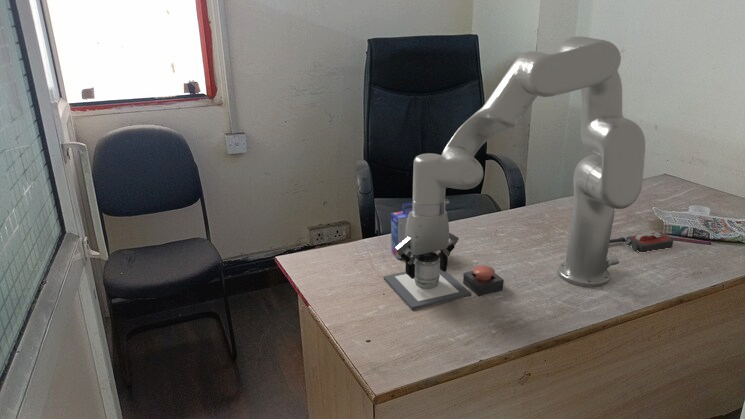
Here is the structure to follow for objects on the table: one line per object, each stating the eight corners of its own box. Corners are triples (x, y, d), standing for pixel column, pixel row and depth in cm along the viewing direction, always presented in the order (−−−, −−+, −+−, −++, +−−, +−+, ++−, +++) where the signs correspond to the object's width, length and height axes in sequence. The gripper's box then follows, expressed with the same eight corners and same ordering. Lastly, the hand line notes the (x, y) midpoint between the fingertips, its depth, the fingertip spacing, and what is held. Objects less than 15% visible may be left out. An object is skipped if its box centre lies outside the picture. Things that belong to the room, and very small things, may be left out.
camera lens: (409, 280, 135) (409, 252, 132) (431, 275, 137) (432, 247, 134) (421, 291, 129) (422, 262, 127) (444, 286, 132) (445, 257, 129)
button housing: (486, 277, 138) (487, 267, 137) (502, 290, 132) (503, 279, 131) (463, 283, 135) (463, 272, 134) (478, 296, 129) (479, 285, 128)
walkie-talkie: (654, 236, 161) (597, 245, 156) (656, 223, 159) (599, 231, 154) (677, 249, 153) (618, 258, 148) (680, 235, 152) (621, 244, 146)
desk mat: (438, 267, 143) (438, 263, 143) (471, 295, 130) (471, 292, 129) (383, 279, 138) (383, 275, 137) (411, 310, 124) (411, 306, 124)
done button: (486, 273, 136) (486, 264, 135) (498, 282, 132) (499, 273, 131) (468, 277, 134) (469, 268, 133) (480, 286, 130) (480, 277, 129)
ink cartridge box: (420, 245, 156) (422, 199, 150) (429, 253, 151) (431, 205, 146) (389, 251, 152) (389, 204, 147) (398, 260, 148) (398, 211, 142)
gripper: (452, 196, 132) (449, 259, 138) (388, 207, 126) (388, 273, 132) (469, 206, 126) (465, 272, 132) (402, 218, 119) (401, 287, 126)
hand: (426, 272), depth 132 cm, fingers open, 8 cm apart
